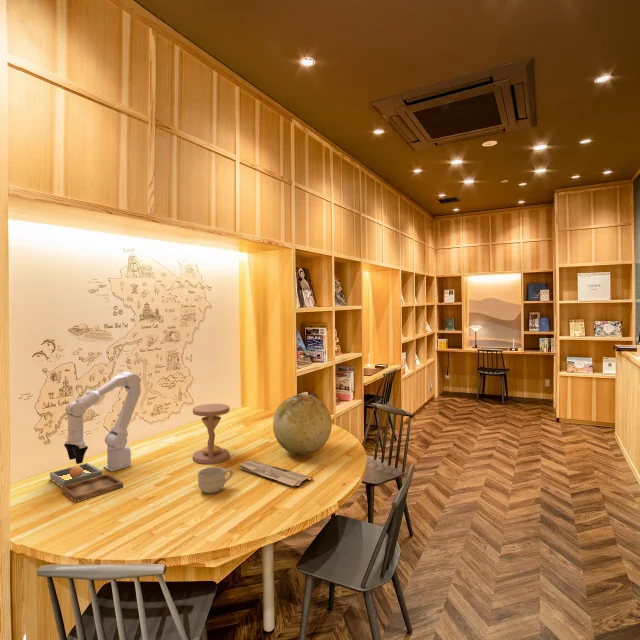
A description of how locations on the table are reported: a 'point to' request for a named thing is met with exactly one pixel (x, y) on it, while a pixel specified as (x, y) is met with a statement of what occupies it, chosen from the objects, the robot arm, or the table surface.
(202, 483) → the teacup
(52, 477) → the dish
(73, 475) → the ball
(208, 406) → the hourglass
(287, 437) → the olive sphere
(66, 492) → the tray
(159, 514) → the table surface
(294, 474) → the newspaper
